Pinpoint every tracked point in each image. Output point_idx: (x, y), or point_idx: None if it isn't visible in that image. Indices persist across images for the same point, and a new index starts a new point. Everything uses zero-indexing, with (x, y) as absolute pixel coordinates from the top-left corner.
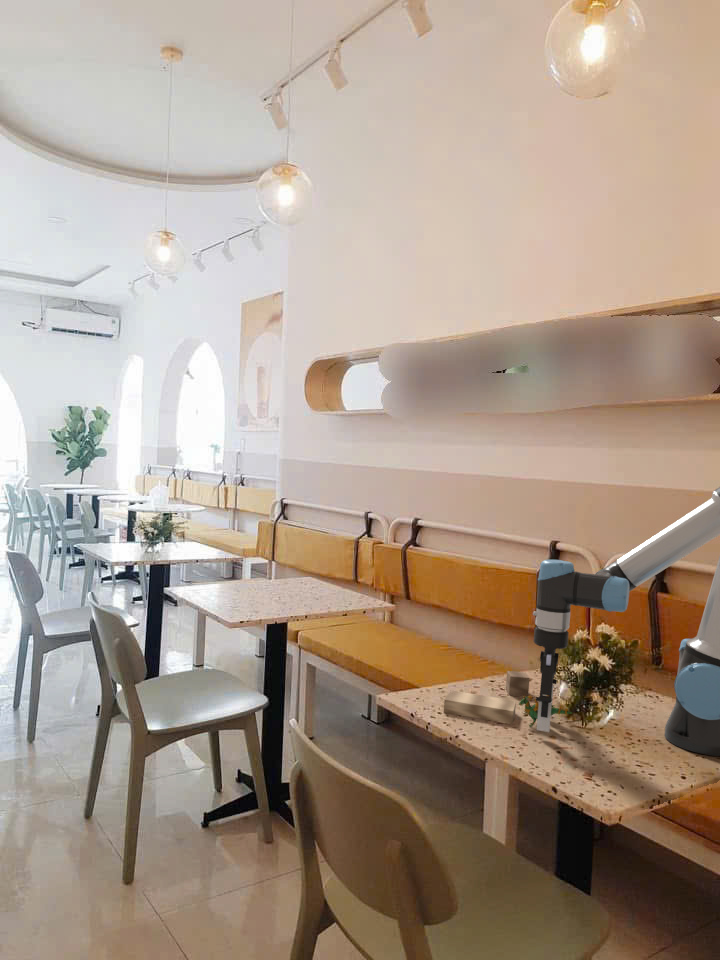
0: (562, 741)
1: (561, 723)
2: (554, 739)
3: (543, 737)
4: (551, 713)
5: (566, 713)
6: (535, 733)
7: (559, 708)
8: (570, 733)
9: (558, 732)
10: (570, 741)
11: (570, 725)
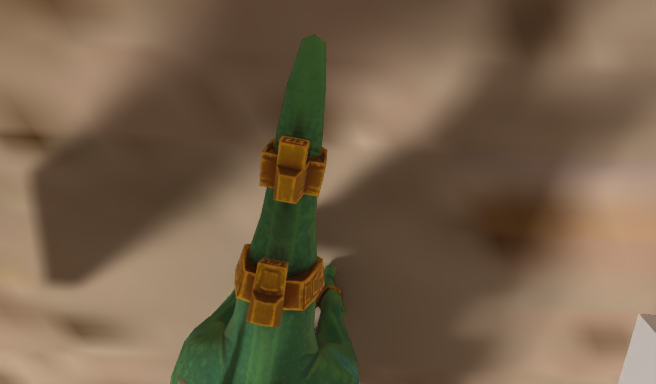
0: (628, 129)
1: (28, 112)
2: (589, 211)
3: (564, 311)
4: (320, 361)
5: (325, 153)
6: (475, 373)
7: (279, 309)
8: (317, 22)
9: (347, 159)
10: (602, 35)
11: (30, 8)
